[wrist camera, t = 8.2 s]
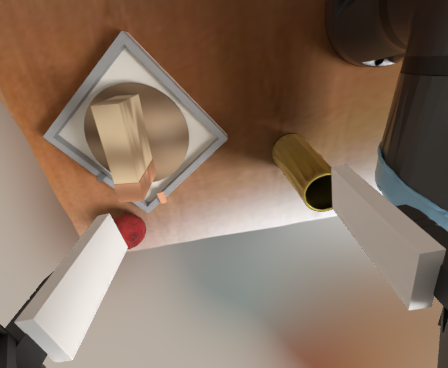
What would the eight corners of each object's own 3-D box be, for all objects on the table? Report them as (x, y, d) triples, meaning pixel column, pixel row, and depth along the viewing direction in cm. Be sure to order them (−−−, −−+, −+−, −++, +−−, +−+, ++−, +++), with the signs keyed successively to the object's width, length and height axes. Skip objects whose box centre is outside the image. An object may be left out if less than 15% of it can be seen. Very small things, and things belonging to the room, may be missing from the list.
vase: (297, 172, 42) (334, 220, 30) (265, 162, 41) (290, 207, 28) (314, 140, 40) (363, 178, 27) (281, 128, 39) (315, 162, 26)
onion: (146, 204, 44) (133, 232, 37) (152, 229, 46) (142, 260, 39) (114, 207, 44) (95, 235, 37) (122, 232, 46) (106, 263, 39)
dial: (72, 86, 33) (26, 95, 25) (181, 78, 33) (172, 84, 25) (104, 183, 40) (76, 215, 32) (194, 176, 40) (190, 206, 32)
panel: (128, 32, 32) (120, 30, 29) (229, 136, 39) (231, 142, 36) (52, 133, 37) (40, 139, 35) (153, 208, 44) (149, 218, 42)
